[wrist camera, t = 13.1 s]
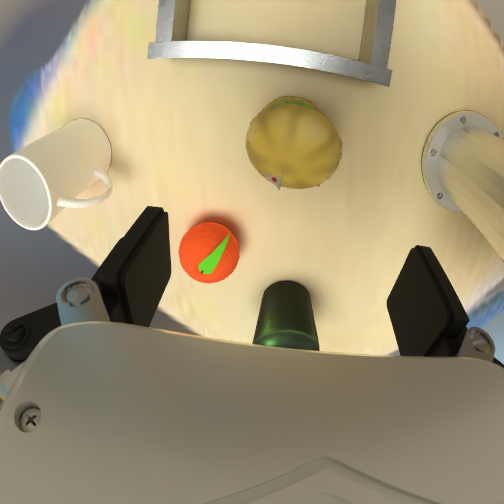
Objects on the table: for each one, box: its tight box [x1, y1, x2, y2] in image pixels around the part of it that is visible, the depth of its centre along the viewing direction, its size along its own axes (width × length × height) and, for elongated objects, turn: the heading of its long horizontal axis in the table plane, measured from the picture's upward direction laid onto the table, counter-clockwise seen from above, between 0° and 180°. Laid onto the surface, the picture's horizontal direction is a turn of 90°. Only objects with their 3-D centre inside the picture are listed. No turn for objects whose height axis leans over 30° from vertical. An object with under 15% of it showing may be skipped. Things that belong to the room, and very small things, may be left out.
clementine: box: [179, 222, 239, 283], centre depth 35 cm, size 8×7×7 cm
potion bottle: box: [253, 281, 319, 351], centre depth 35 cm, size 8×8×18 cm
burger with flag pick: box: [246, 96, 342, 190], centre depth 24 cm, size 8×7×12 cm
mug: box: [0, 119, 112, 230], centre depth 28 cm, size 12×8×12 cm
